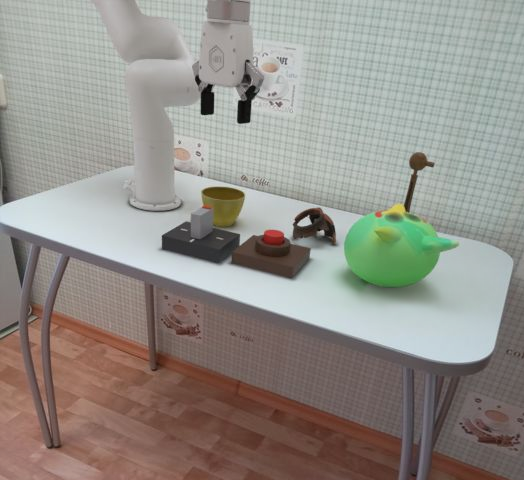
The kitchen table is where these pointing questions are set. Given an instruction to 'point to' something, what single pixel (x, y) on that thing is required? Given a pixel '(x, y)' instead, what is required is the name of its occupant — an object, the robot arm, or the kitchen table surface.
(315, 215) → the brown openwork arch
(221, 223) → the flower pot
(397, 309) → the kitchen table surface
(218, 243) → the panel
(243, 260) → the button block
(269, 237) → the power button
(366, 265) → the toy bird
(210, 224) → the grey upright block
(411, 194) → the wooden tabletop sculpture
